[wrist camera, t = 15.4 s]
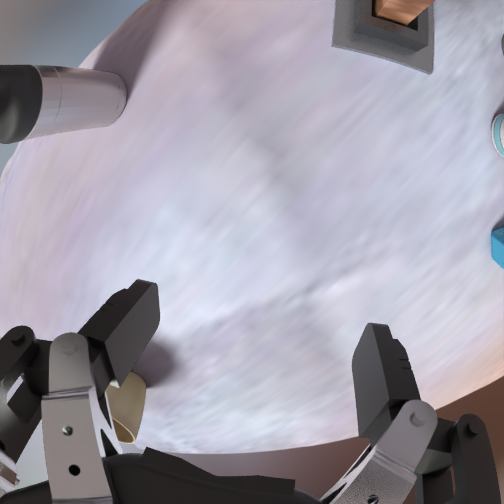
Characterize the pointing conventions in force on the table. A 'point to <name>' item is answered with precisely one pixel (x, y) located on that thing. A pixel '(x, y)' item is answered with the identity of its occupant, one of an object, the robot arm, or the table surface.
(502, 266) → the data package
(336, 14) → the socket plate
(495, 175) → the table surface
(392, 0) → the terracotta peg
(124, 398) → the plant pot
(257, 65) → the table surface
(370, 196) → the table surface
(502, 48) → the canister
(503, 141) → the beverage can
